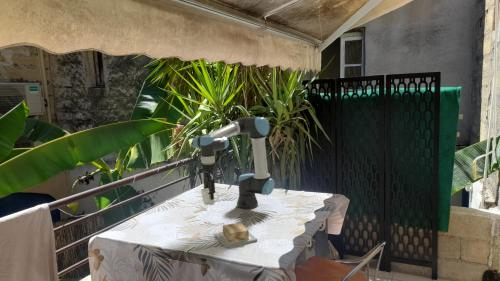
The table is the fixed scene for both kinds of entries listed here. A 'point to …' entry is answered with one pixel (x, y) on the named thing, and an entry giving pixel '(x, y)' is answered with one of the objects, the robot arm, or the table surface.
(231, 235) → the oak block
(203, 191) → the cup
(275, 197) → the table surface
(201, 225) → the table surface
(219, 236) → the build board
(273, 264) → the table surface
